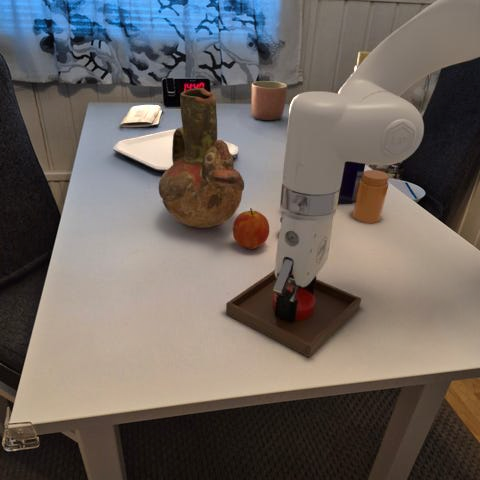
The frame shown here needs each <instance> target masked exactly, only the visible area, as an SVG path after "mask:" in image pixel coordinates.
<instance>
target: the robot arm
mask: <svg viewBox="0 0 480 480" xmlns="http://www.w3.org/2000/svg"><path fill="white" fill-rule="evenodd" d="M370 52H371V53H370V54H369V55H368V56H367V57H366V58H365V60H364V61H363V62H362V63H361V64H360V65H359V67H358V68H357V69H356V70H355V71H353V72H352V73H351V74H350V76H349V77H348V78H347V79H346V81H345V82H344V83H343V85H342V86H341V87H340V89H339V90H338V92H331V91H321V90H320V91H319V90H317V91H315V90H314V91H304V92H301V93H299V94H297V95H296V96H294V97H293V99H292V100H291V102H290V105H289V110H288V119H287V130H286V140H285V150H284V158H283V169H282V182H281V189H280V190H281V191H280V201H279V208H280V209H281V211H282V212H283V214H282V216H283V218H282V223H281V222H280V228H279V233H278V234H279V235H278V239H277V246H276V254H275V261H274V270H275V276H276V278H277V281H276V283H275V286H274V289H273V290H274V292H275V293H276V297H277V298H276V307H275V316H276V317H278V318H281V319H283V320H286V321H289V322H294V321H295V319H296V312H297V305H298V300H297V299H296V297H297V293H298V290H299V288H302V289H305V290H307V291H309V292H310V293H312V294H313V295H314V289H315V283H316V279H317V275H318V274H319V272H321V270H322V269H323V267H324V266H325V265H326V263H327V261H328V258H329V252H330V248H331V247H330V245H331V239H332V238H331V237H332V230H333V222H334V221H333V220H334V216H335V215H336V213H337V208H338V205H339V204H338V199H339V193H340V187H341V182H342V176H343V171H344V165H345V162H346V161H350V162H358V163H364V164H365V165H372V166H390V165H391V166H392V165H396V164H399V163H402V162H403V161H405V160H407V159H408V158H410V157H411V156H412V155H413V154H414V153H415V152H416V151H417V149H418V148H419V146H420V145H421V142H422V141H423V138H424V133H425V124H424V120H423V116H422V114H421V113H420V111H419V110H418V109H417V108H416V106H415V105H413V104H412V103H411V102H410V101H408V100H407V99H404V98H403V97H401V96H402V95H403V94H404V93H405V92H407V91H408V89H410V88H411V87H412V86H414V85H415V84H417V83H418V82H419V81H420V80H423V79H424V78H425V77H427V76H429V75H431V74H432V73H434V72H437V71H439V70H441V69H444V68H447V67H450V66H454V65H458V64H460V63H464V62H469V61H472V60H475V59H478V58H480V0H436V1H434V2H433V3H431V4H430V5H428V6H427V7H425V8H424V9H422V10H421V11H420V12H419V13H417V14H415V16H413V17H411V18H410V19H409V20H408V21H407V22H405V23H404V24H402V25H401V26H400V27H398V28H397V29H395V30H394V31H393V32H392V33H390V34H389V35H388V36H387V37H385V38H384V39H383V40H382V41H381V42H379V44H378V45H377V46H376V47H375V48H373V49H372V51H370ZM291 275H293V276H294V279H292V278H290V276H291ZM287 283H290V284H293V285H294V286H293V290H292V293H291V291H290V290H287Z"/></svg>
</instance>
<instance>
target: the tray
mask: <svg viewBox="0 0 480 480" xmlns="http://www.w3.org/2000/svg"><path fill="white" fill-rule="evenodd" d="M290 278H292V279H294V276H293V275H291V276H290ZM276 281H277V278H276V276H275V269H274V270H271V272H270V273H268V274H267V275H265V276H264V277H262V278H260V279H259V280H258V281H256V282H255V283H253V284H252V285H250V286H249V287H248V288H246V289H245V290H244V291H242V292H241V293H239V294H237V295H236V296H234V297H233V298H231V299H230V300H229V301H227V302H226V303H225V304H226V305H225V314H226V315H227V316H229V317H231V318H233V319H235V320H237V321H238V322H241V323H242V324H245V326H248V327H250V328H252V329H254V330H256V331H257V332H259V333H261V334H263V335H266V336H267V337H269V338H271V339H273V340H275V341H277V342H278V343H281V344H282V345H284V346H286V347H288V348H290V349H292V350H293V351H296V352H297V353H299V354H301V355H303V356H305V357H307V358H311V357H312V355H314V354H315V353H316V352H317V351H318V350H319V349H320V348H321V347H322V346H323V345H324V344H325V343H326V342H327V341H328V340H329V339H330V338H331V337H332V336H333V335H334V334H335V333H336V332H337V331H338V330H339V329H340V328H341V327H342V326H343V325H344V324H346V322H347V321H348V320H349V319H350V318H352V316H353V315H355V314H356V312H358V310H359V309H360V306H361V302H362V297H360V296H357V295H354V294H352V293H350V292H348V291H345V290H343V289H341V288H338V287H335V286H333V285H331V284H330V283H329V284H328V283H326V282H324V281H322V280H320V279H317V278H316V283H315V289H314V295H313V296H314V297H315V307H314V312H313V314H312V315H311V316H310V317H309V318H307V319H304V320H295V321H294V322H289V321H286V320H283V319H281V318H278V317H276V316H275V311H274V309H273V301H274V295H275V292H274V290H273V289H274V286H275V283H276ZM293 286H294V285H293V284H290V283H287V287H293Z"/></svg>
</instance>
